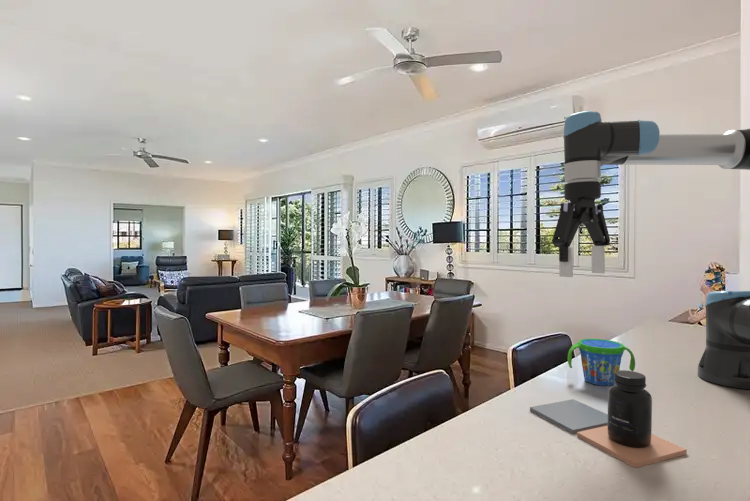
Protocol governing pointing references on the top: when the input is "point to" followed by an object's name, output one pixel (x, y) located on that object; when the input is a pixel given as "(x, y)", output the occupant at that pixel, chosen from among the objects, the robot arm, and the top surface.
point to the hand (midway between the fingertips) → (582, 275)
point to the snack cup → (600, 359)
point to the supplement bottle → (629, 410)
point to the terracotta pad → (631, 455)
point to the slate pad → (572, 415)
